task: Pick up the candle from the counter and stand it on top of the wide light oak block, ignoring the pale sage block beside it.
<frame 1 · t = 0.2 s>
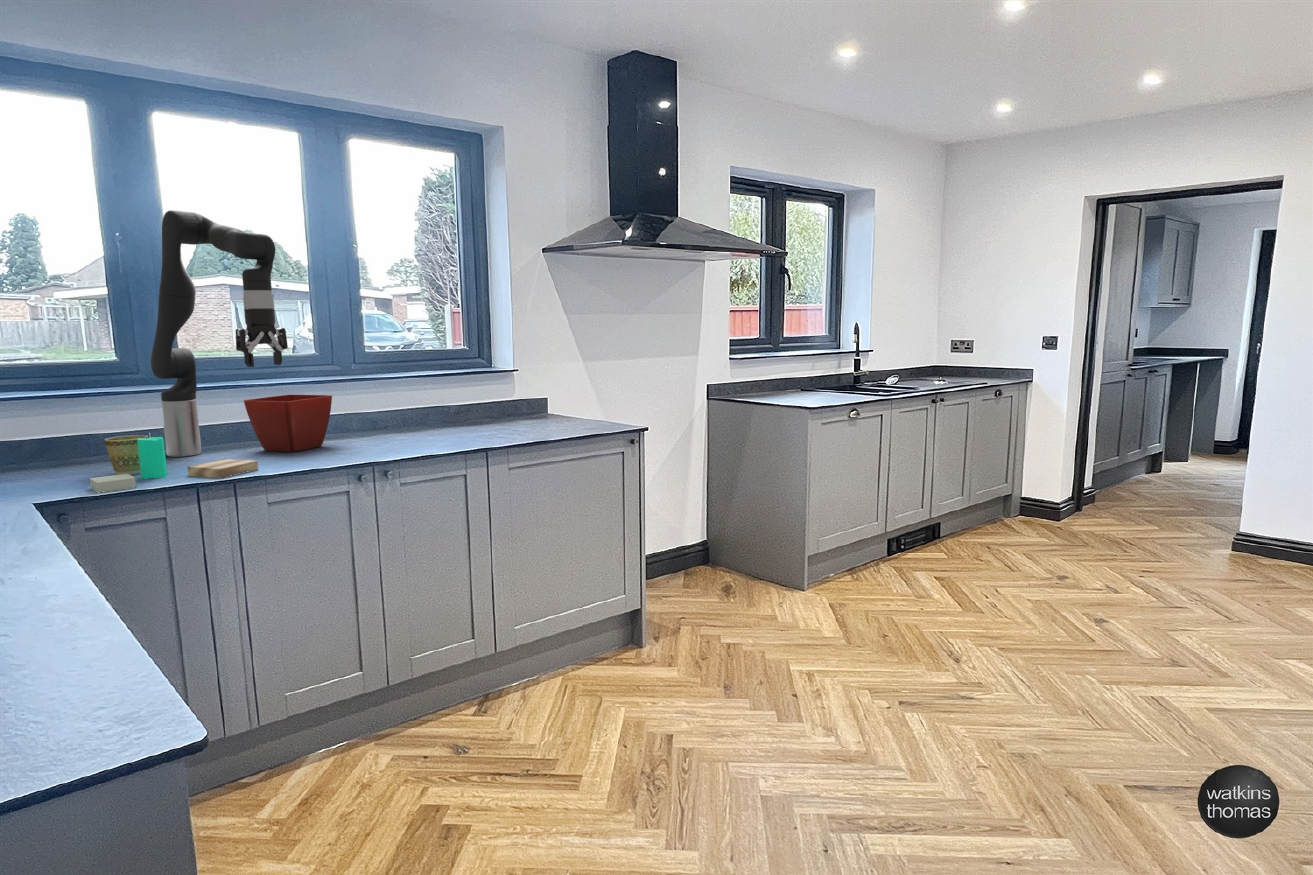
hand: (264, 365, 219), 29 cm above the counter, tool pointing down, fingers open, 8 cm apart
ceramic cup: (136, 473, 217), on the counter
plant pot: (292, 449, 255), on the counter
sage block: (113, 489, 197), on the counter
oak block: (224, 474, 215), on the counter
candle: (154, 477, 211), on the counter
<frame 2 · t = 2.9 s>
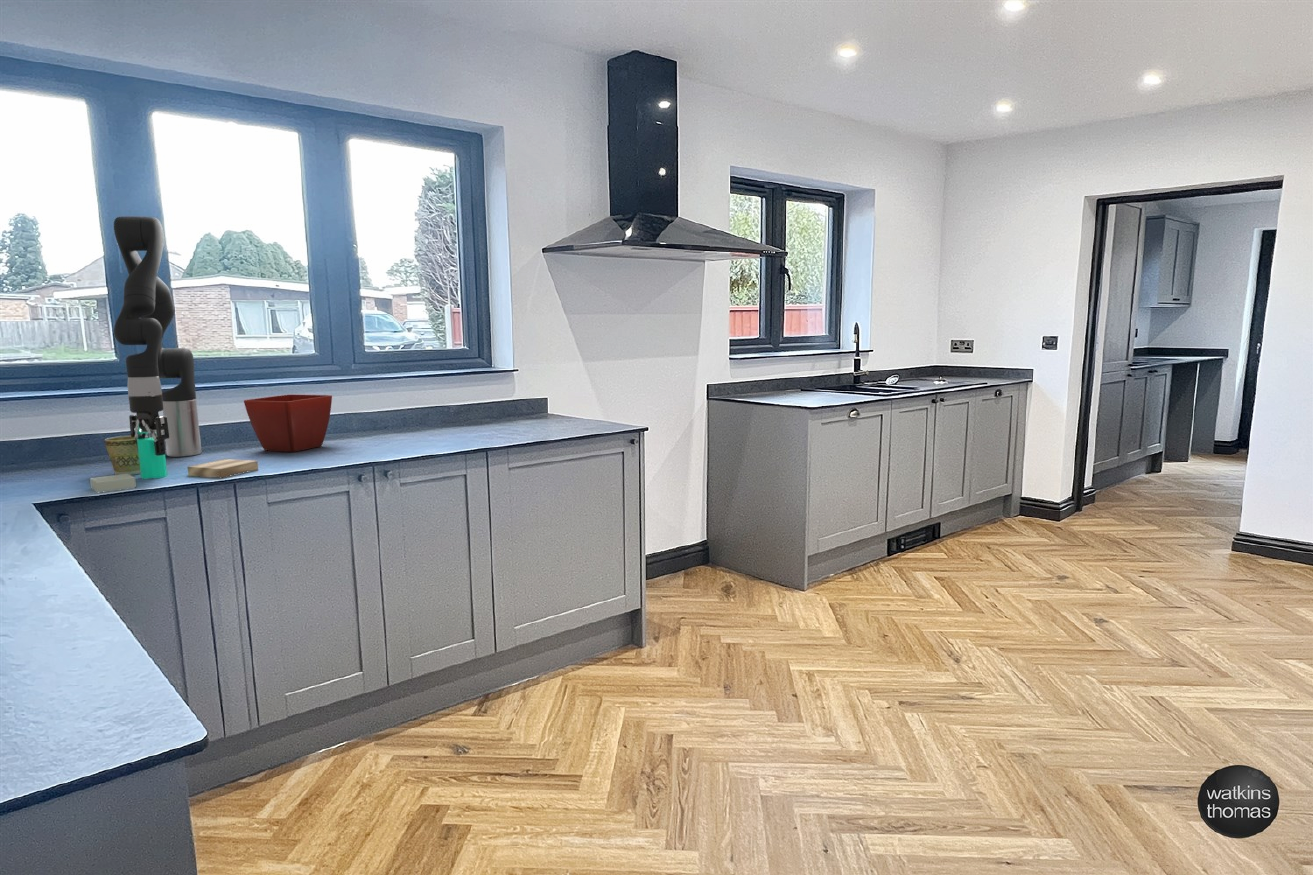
hand: (151, 454, 209), 6 cm above the counter, tool pointing down, fingers open, 8 cm apart
ceramic cup: (136, 473, 217), on the counter, touching gripper
everything else where it was.
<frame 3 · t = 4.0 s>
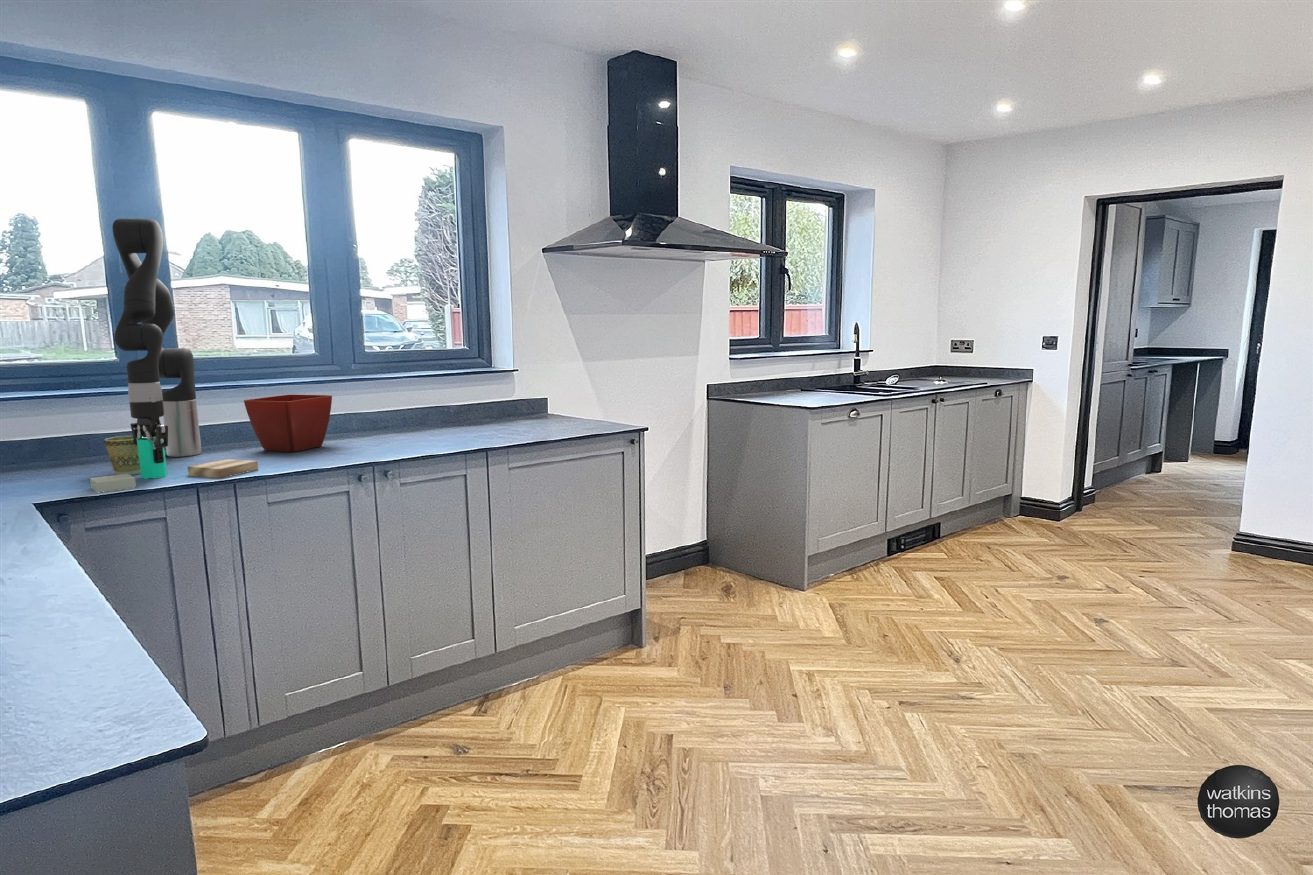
hand: (152, 461, 210), 4 cm above the counter, tool pointing down, fingers closed on candle, 5 cm apart
ceramic cup: (136, 473, 217), on the counter
candle: (154, 477, 211), on the counter, touching gripper
everything else where it was.
when the fingers open (7 cm above the counter, at t = 9.7 s): candle stays where it is, resting on oak block.
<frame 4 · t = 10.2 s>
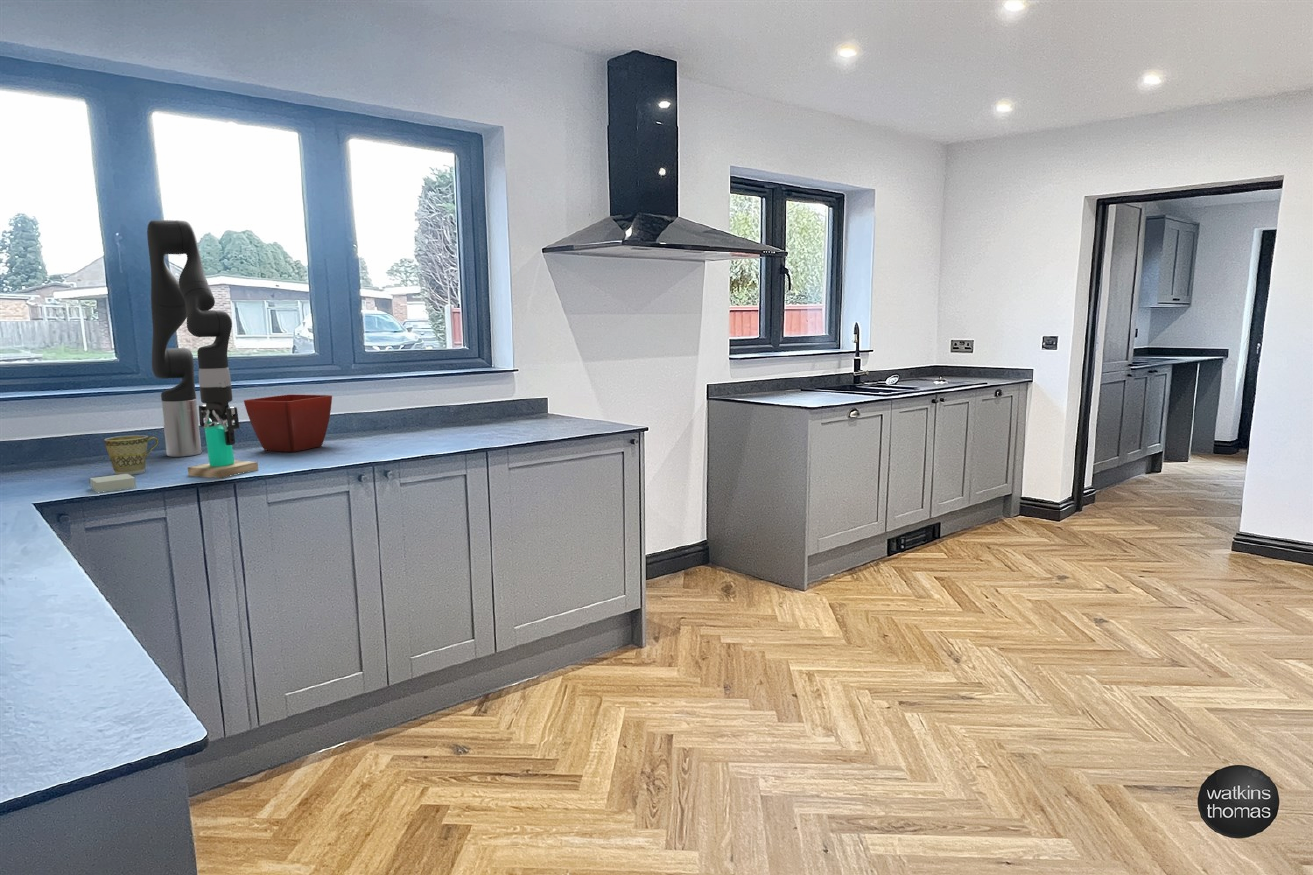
hand: (221, 443, 214), 8 cm above the counter, tool pointing down, fingers open, 8 cm apart
oak block: (224, 475, 215), on the counter, touching candle
candle: (222, 464, 215), point 2 cm above the counter, touching oak block
everything else where it was.
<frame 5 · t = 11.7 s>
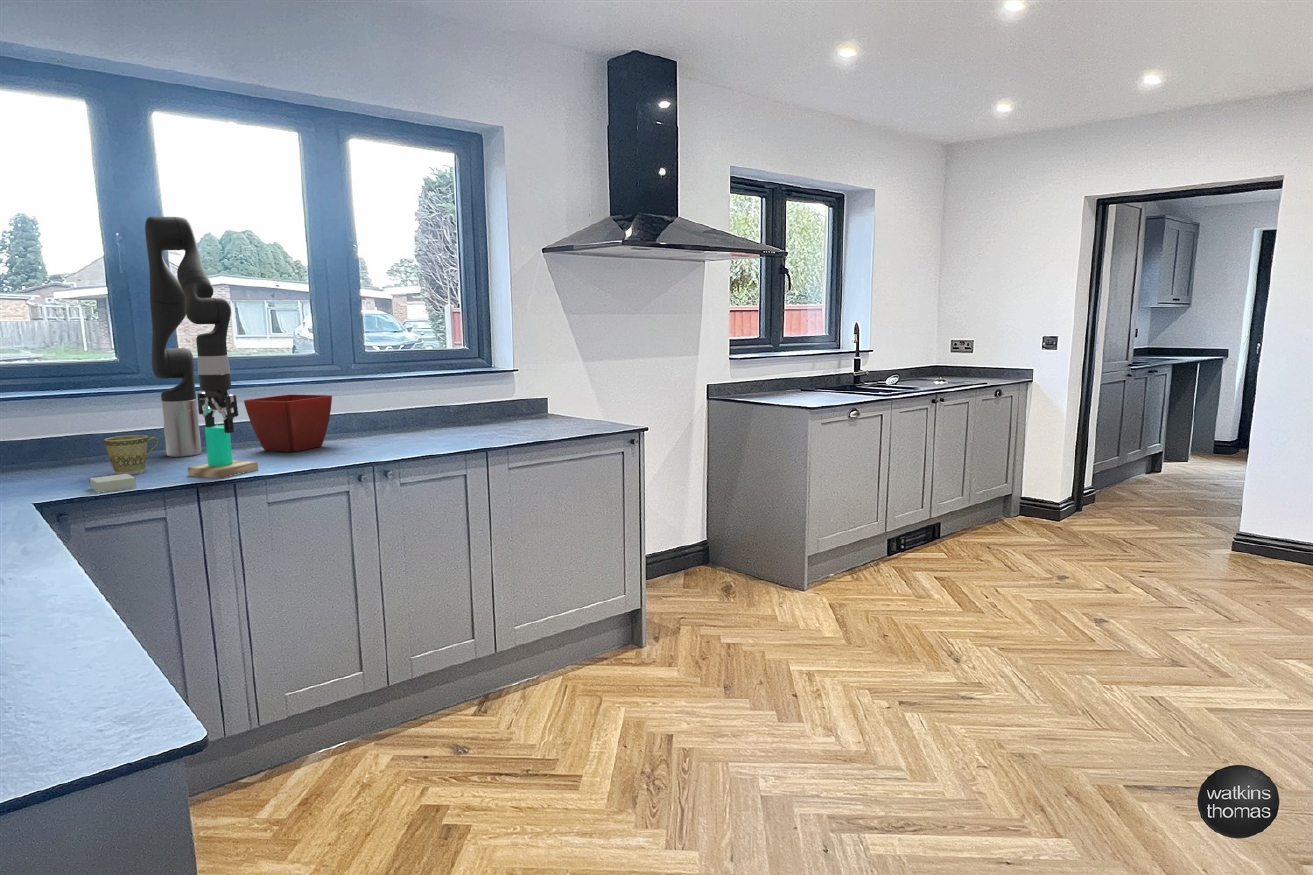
hand: (219, 431, 214), 11 cm above the counter, tool pointing down, fingers open, 8 cm apart
candle: (220, 464, 216), point 2 cm above the counter, touching gripper, oak block
everything else where it was.
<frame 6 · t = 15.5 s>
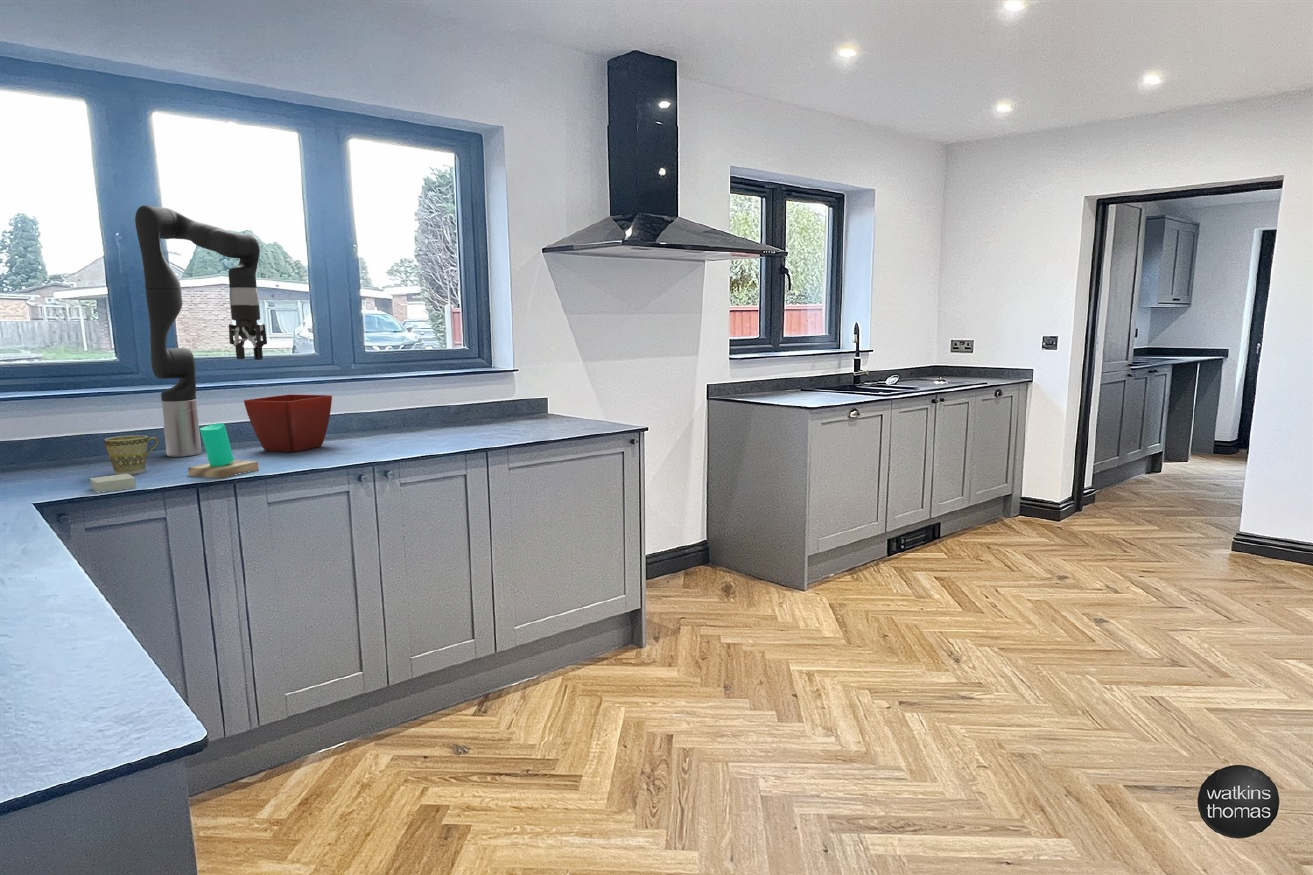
hand: (249, 359, 230), 30 cm above the counter, tool pointing down, fingers open, 8 cm apart
oak block: (224, 475, 215), on the counter
candle: (222, 463, 215), point 3 cm above the counter
everything else where it was.
at the end: candle inside the target area on the oak block (0.4 cm from its centre), point 3.4 cm above the oak block's base; candle tilted 12°; the gripper is holding nothing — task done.
